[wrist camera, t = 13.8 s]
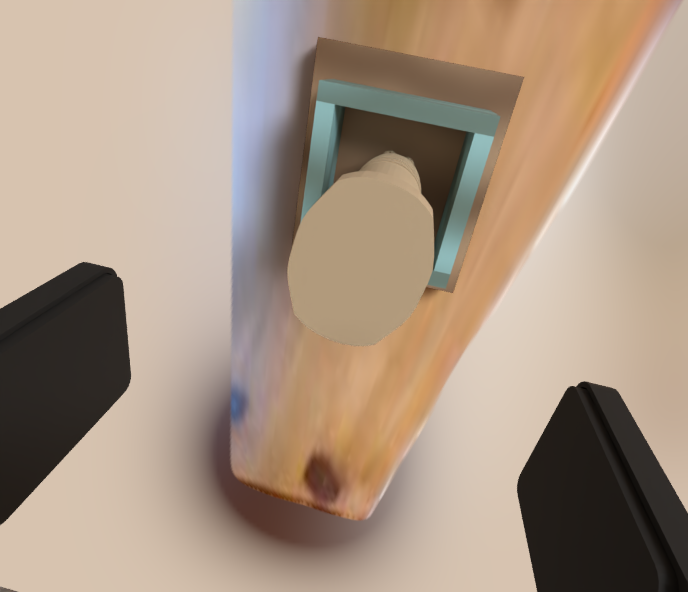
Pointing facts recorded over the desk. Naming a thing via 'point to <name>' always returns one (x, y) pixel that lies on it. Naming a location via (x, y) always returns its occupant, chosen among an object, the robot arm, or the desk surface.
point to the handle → (363, 253)
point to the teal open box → (408, 134)
